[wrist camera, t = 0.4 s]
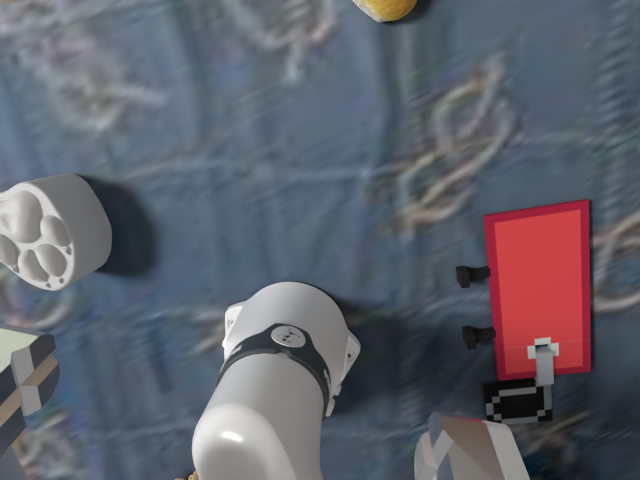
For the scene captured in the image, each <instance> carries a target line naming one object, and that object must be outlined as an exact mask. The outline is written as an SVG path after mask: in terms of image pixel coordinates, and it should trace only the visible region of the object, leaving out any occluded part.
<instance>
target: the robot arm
mask: <svg viewBox="0 0 640 480" xmlns="http://www.w3.org/2000/svg"><path fill="white" fill-rule="evenodd" d="M225 332H226V337H225V339H224V341H223V345H222V346H223V347H224V348H225V349H224V357H225V362H224V364H223V366H222V368H221V371H220V373H219V377H218V379H217V384H216V390H215V392H214V394H213V396H212V397H211V399H210V401H209V403H208V405H207V407H206V409H205V411H204V412H203V414H202V416H201V418H200V420H199V422H198V424H197V426H196V428H195V432H194V436H193V441H192V456H193V461H194V465H195V468H196V472H197V475H198V477H199V480H323V477H322V473H321V468H320V434H321V423H322V421H323V420H324V417H325V416H330V414H331V413H332V410H333V408H334V404H335V400H334V399H333V398H332V397H333V396H334V395H336V396H338V395H339V393H340V390H341V385H340V384H341V383H342V381H343V379H344V378H345V376H346V374H347V373H348V371H349V369H350V368H351V366H352V365H353V363H354V361H355V360H356V358H357V356H358V355H359V353H360V349H361V345H360V342H359V341H358V339H357V338H356V337H355V336H354V335H353V334H352V333H351V332H350V331H349V330H348V328H347V326H346V323H345V320H344V317H343V315H342V313H341V311H340V309H339V308H338V306H337V305H336V303H335V302H334V301H333V300H332V299H331V298H330V297H329V296H328V295H326V294H325V293H324V292H322V291H320V290H319V289H317V288H315V287H312V286H310V285H307V284H303V283H298V282H281V283H276V284H272V285H270V286H267V287H265V288H263V289H262V290H260V291H259V292H257V293H256V294H255V295H254V296H252V297H251V298H250V299H248V300H247V301H244V302H240V303H237V304H234V305H231V306H230V307H229V308H228V309H227V311H226V314H225ZM55 348H56V346H55V341H54V337H53V335H50V334H47V333H43V332H39V331H35V330H30V329H26V328H21V327H17V326H13V325H8V324H4V323H0V457H1V456H2V455H3V453H4V452H5V451H6V450H7V449H8V447H9V446H10V445H11V444H12V443H13V442H14V440H15V439H16V438H17V437H18V436H19V435H20V433H21V432H22V431H23V430H24V429H25V427H26V416H27V415H29V414H31V413H33V412H35V411H37V410H39V409H41V408H42V407H43V406H44V405H45V403H46V402H47V401H48V400H49V399H50V397H51V396H52V394H53V392H54V390H55V387H56V385H57V383H58V379H59V373H60V371H59V364H58V362H57V361H56V360H55V359H54V358H53V357H52V355H51V354H50V353H51V352H52V351H53V350H54V349H55ZM348 353H349V354H350V355H349V356H348ZM427 424H428V430H429V432H427V433H425V434H423V435H421V436H420V439H419V441H418V444H417V446H416V452H415V458H414V471H415V480H530V478H529V475H528V473H527V470H526V468H525V465H524V463H523V460H522V458H521V455H520V453H519V450H518V448H517V445H516V443H515V440H514V437H513V435H512V432H511V430H510V429H509V428H508V426H507V425H505V424H500V423H495V422H490V421H485V420H480V419H476V418H470V417H465V416H460V415H454V414H449V413H444V412H439V411H434V412H433V413H432V414H431V415H430V417H429V420H428V422H427Z"/></svg>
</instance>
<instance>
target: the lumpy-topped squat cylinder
mask: <svg viewBox="0 0 640 480" xmlns="http://www.w3.org/2000/svg"><path fill="white" fill-rule="evenodd" d="M111 245H112V229H111V225H110V222H109V220H108V217H107V215H106V213H105V211H104V209H103V207H102V205H101V203H100V201H99V199H98V198H97V196H96V195H95V193H94V191H93V190H92V188H91V187H90V186H89V184H88V183H87V182H86V181H85V180H84V179H82V178H81V177H80V176H78V175H76V174H73V173H64V174H59V175H54V176H49V177H45V178H40V179H35V180H31V181H25V182H21V183H19V184H17V185H15V186H14V187H12V188H11V189H9V190H8V191H5V192H1V193H0V262H2V263H4V264H6V265H7V266H8V267H9V268H10V269H11V270H12V271H13V272H15V273H16V274H17V275H18V276H20V277H21V278H23V279H24V280H25V281H27V282H28V283H30V284H32V285H34V286H37V287H39V288H43V289H46V290H51V291H56V290H61V289H63V288H65V287H67V286H69V285H71V284H72V283H74V282H76V281H77V280H79V279H81V278H83V277H84V276H86V275H88V274H90V273H91V272H93V271H95V270H96V269H98V268H100V267H101V266H103V265H104V263H105V262H106V261H107V259H108V257H109V255H110V252H111Z"/></svg>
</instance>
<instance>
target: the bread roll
mask: <svg viewBox="0 0 640 480" xmlns="http://www.w3.org/2000/svg"><path fill="white" fill-rule="evenodd" d="M352 1H353V2H354V3H355V4H356V5H357V6H358V7H359V8H360V9H361V10H362V11H363V12H365V13H366V14H367V15H368V16H370V17H372V18H373V19H374V20H375V21H377V22H379V23H380V22H385V21H395V20H398V19H400V18H402V17H403V16H405V15H406V14H407V13H409V12H410V11H411V10H412V8H413V7H414V6H415V4H416V2H417V0H352Z"/></svg>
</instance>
